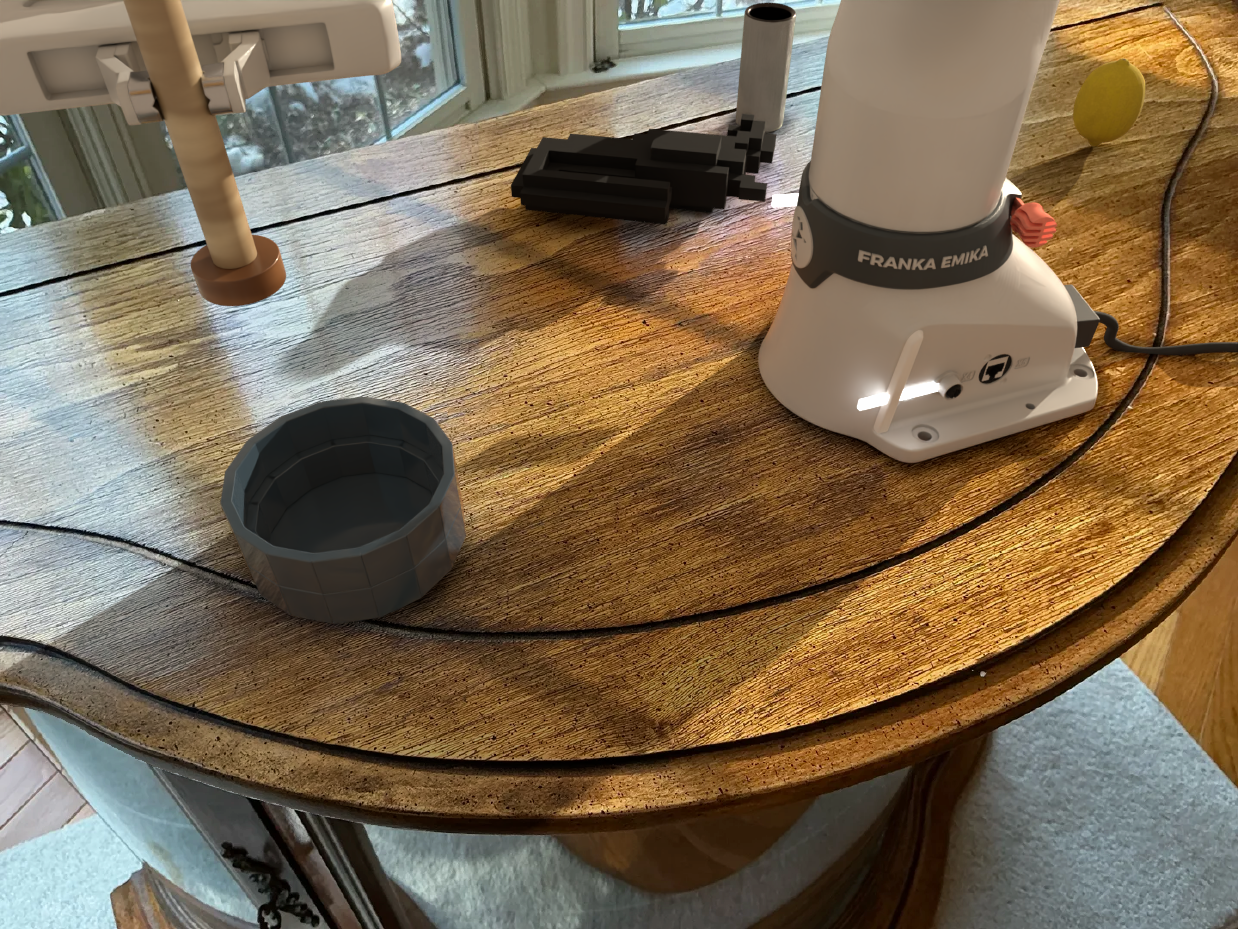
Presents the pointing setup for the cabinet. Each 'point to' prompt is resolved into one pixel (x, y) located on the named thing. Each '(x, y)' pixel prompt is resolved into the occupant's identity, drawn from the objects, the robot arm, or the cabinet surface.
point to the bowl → (346, 508)
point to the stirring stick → (203, 162)
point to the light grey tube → (765, 63)
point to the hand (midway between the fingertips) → (182, 103)
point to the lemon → (1109, 102)
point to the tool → (645, 172)
